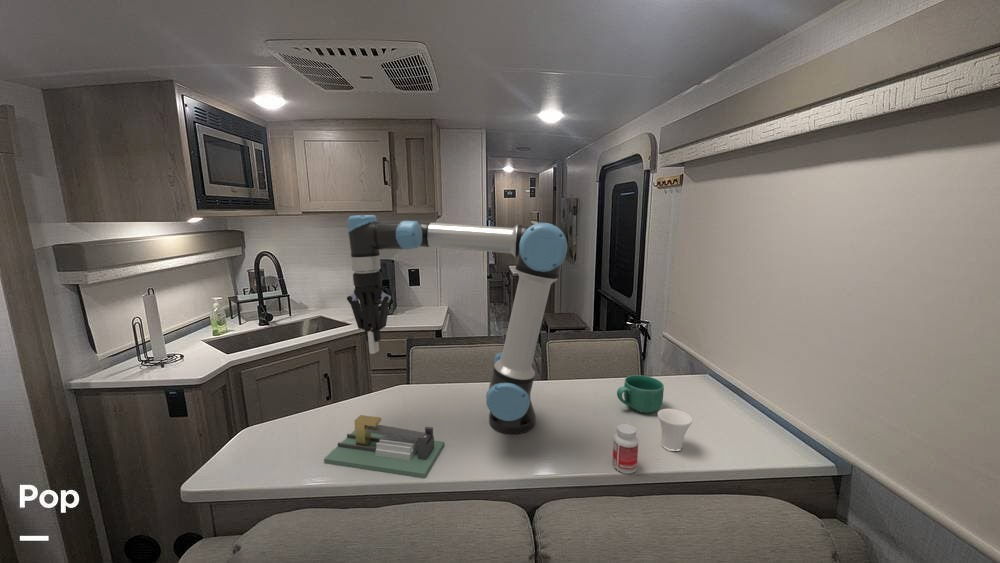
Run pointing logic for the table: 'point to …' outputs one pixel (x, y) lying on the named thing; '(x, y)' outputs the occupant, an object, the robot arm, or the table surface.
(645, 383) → the mug
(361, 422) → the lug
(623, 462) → the pill bottle
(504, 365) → the robot arm
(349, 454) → the board
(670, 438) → the cup
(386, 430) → the strap
